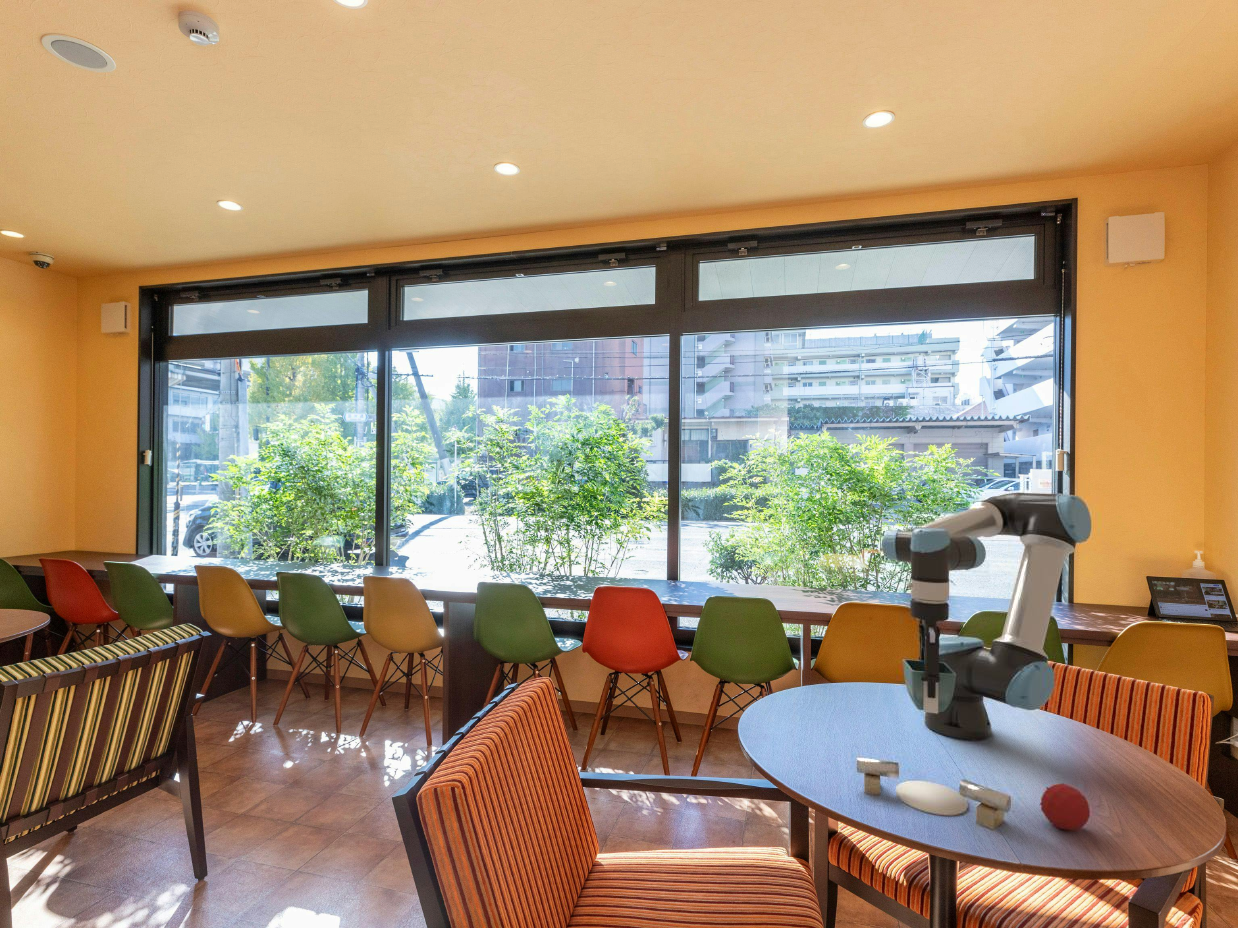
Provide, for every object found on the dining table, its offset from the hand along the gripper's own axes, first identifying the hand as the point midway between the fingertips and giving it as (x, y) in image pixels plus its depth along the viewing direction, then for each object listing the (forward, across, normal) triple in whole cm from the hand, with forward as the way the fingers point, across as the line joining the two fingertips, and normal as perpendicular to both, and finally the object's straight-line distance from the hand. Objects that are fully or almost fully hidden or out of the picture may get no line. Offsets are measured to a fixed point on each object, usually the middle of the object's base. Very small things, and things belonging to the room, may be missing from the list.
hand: (928, 704), depth 138 cm
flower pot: (+1, 0, 0) cm, 1 cm away
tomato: (+16, +12, +22) cm, 29 cm away
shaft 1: (+16, +10, -10) cm, 21 cm away
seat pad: (+16, +10, 0) cm, 18 cm away
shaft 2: (+16, +15, +8) cm, 23 cm away
